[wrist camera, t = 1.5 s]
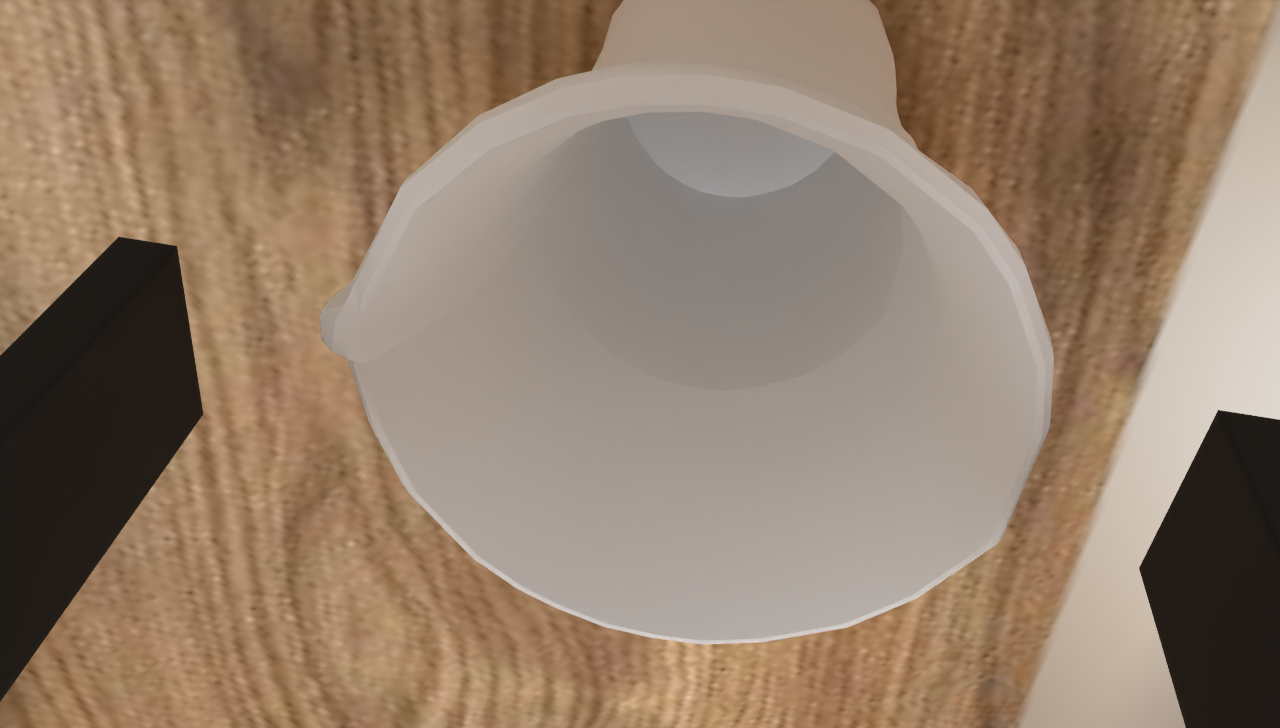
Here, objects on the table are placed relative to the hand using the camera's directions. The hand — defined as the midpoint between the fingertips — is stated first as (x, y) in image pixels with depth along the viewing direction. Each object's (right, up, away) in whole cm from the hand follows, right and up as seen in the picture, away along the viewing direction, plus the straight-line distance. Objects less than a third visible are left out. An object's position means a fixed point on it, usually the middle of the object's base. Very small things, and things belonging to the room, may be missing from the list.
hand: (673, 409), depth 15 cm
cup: (+1, +6, +8) cm, 10 cm away
